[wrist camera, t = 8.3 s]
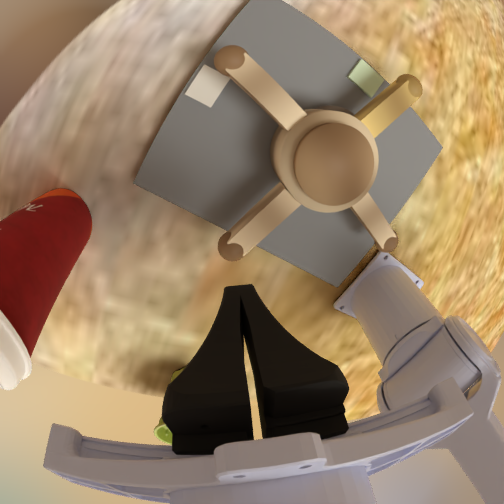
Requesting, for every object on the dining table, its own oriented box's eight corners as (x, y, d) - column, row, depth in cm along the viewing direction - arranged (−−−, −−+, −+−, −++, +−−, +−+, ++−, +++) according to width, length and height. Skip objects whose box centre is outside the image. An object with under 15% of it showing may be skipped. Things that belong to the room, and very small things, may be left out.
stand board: (434, 144, 20) (444, 148, 19) (333, 280, 26) (338, 289, 25) (258, -6, 13) (261, -13, 12) (137, 178, 19) (131, 184, 18)
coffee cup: (46, 157, 17) (-89, 248, 4) (119, 206, 20) (25, 354, 7) (22, 233, 20) (-65, 341, 7) (85, 276, 23) (24, 411, 10)
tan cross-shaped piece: (297, 299, 25) (310, 332, 22) (124, 159, 17) (102, 174, 13) (443, 168, 20) (474, 183, 16) (317, -13, 12) (340, -34, 8)
